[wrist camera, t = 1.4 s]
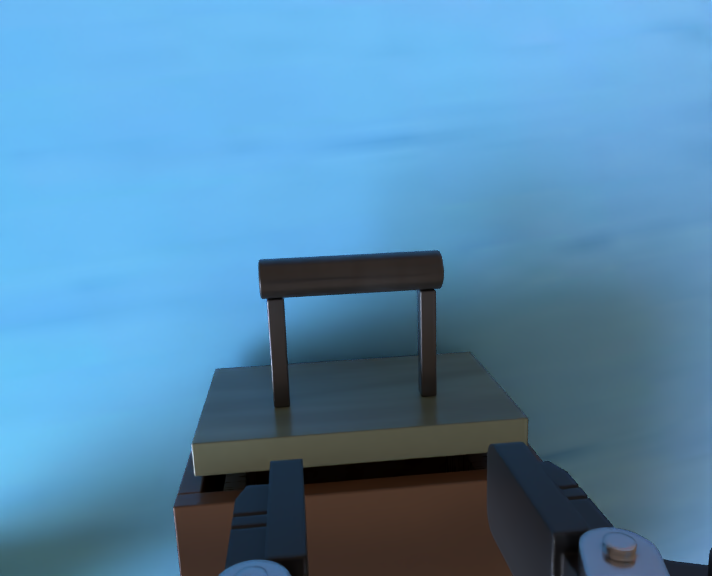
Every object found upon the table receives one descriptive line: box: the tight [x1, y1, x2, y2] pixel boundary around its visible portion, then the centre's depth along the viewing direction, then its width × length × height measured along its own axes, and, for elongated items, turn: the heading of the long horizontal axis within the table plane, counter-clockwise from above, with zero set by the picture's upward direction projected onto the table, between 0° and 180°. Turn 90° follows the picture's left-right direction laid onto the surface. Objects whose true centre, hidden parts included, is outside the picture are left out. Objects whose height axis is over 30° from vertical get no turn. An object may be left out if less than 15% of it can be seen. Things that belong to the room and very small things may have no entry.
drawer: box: [191, 250, 528, 491], centre depth 26 cm, size 20×11×7 cm, turn 2°
